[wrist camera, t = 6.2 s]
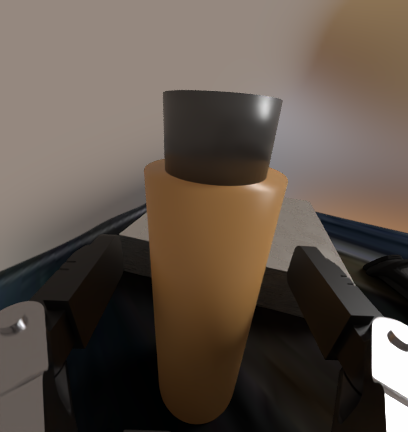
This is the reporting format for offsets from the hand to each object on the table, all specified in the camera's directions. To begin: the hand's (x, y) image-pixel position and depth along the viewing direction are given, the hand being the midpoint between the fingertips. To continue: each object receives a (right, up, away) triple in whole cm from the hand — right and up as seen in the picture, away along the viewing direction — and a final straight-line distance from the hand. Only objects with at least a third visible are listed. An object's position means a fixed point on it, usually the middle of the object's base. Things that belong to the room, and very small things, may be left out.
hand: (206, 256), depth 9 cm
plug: (-1, -7, +3) cm, 8 cm away
